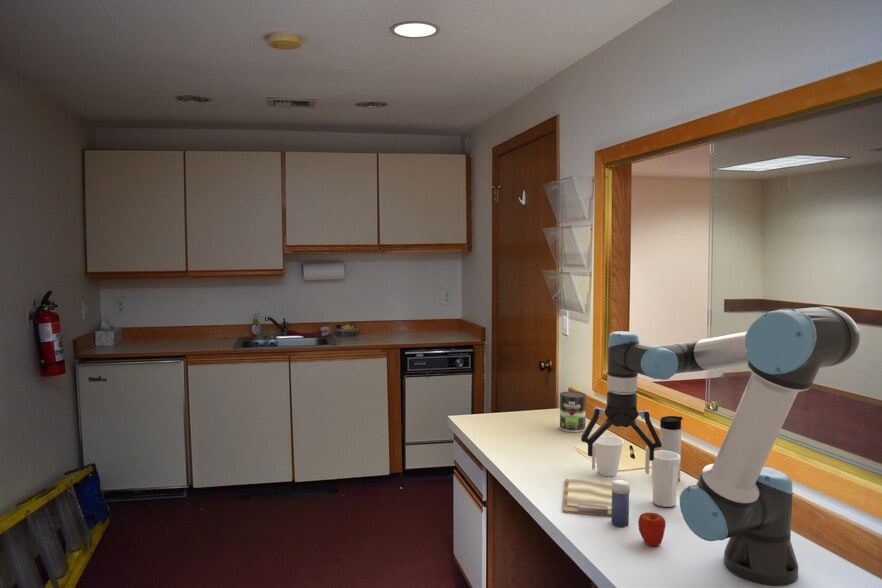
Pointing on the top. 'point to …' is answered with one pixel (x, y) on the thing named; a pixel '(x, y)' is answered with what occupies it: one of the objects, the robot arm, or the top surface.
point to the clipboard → (588, 497)
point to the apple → (652, 528)
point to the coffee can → (572, 411)
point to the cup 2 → (665, 477)
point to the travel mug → (671, 435)
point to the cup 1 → (608, 454)
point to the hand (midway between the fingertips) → (619, 470)
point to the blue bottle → (620, 503)
